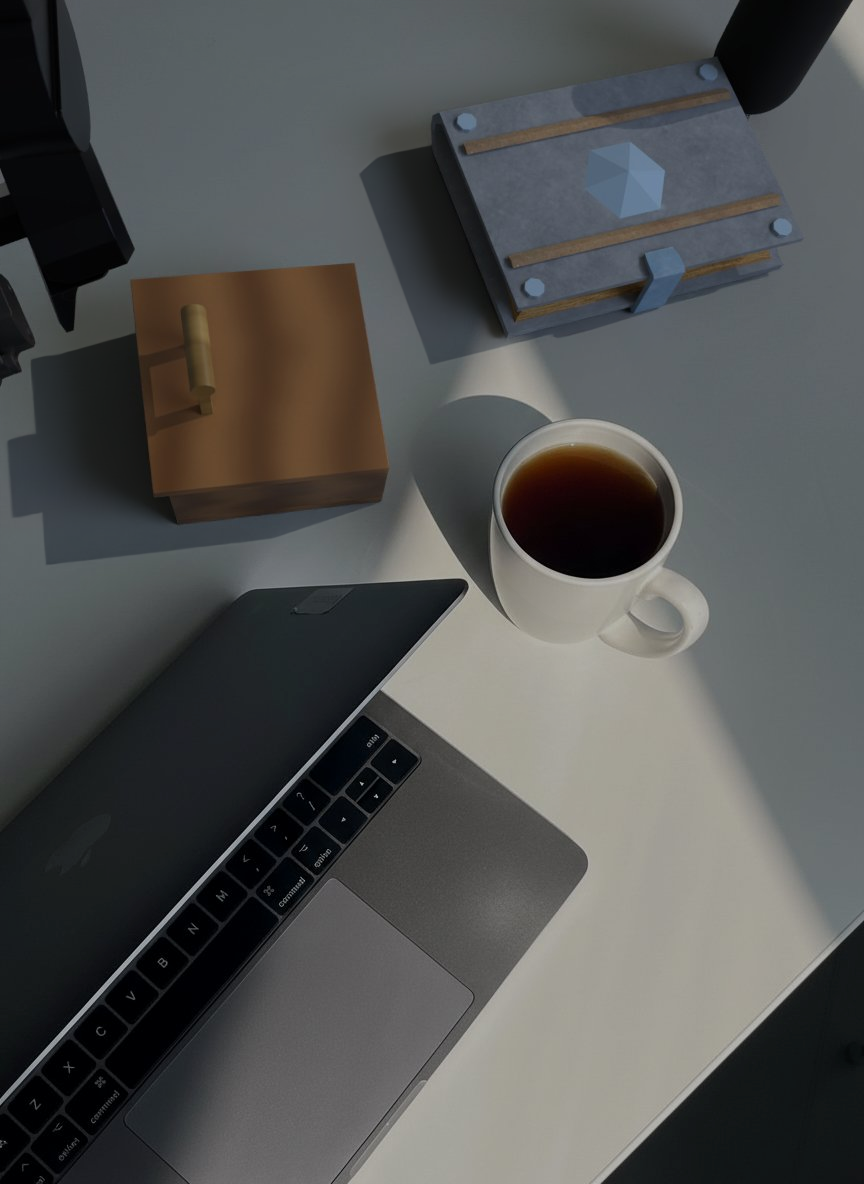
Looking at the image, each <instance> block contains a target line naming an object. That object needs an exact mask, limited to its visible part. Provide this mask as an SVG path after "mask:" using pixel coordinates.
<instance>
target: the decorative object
mask: <svg viewBox="0 0 864 1184" xmlns="http://www.w3.org/2000/svg"><path fill="white" fill-rule="evenodd" d="M853 1H854V0H738V2H737V4H736V6H735V8H734V10H733V12H732V14H731V16H730V18H729V20H728V23H727V24H726V26H725V28H724V30H723V32H722V34H721V36H720V38H719V39H718V42H717V44H716V46H715V49H714V52H713V56H712V57H718V60H719V62H720V64H721V66H722V68H723V70H724V72H725V74H726V76H727V78H728V80H729V82H730V84H731V87H732V89H733V91H734V93H735V95H736V97H737V99H738V101H739V103H740V105H741V107H742V109H743V111H744V114H745V116H746V115H747V116H754V115H755V116H756V115H762V114H765V113H768V112H770V111H772V110H774V109H776V108H778V107H780V106H781V105H782V104H784V103H785V102H786V101H787V100H789V99H790V98H791V97H792V95H793V94H794V93H796V91H797V89H798V88H799V86H800V85H801V83H802V82H803V80H804V79H805V77H806V76H807V74H808V72H809V71H810V69H811V68H812V66H813V65H814V63H815V61H816V59H817V58H818V57H819V55H820V53H821V52H822V51H823V49H824V48H825V45H826V44H827V42H828V41H829V39H830V37H831V36H832V35H833V32H834V31H835V30H836V28H837V26H838V25H839V23H840V22H841V20H842V18H843V17H844V15H845V14H846V13H847V10H848V9H849V8H850V6H851V4H852V3H853Z"/></svg>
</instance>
